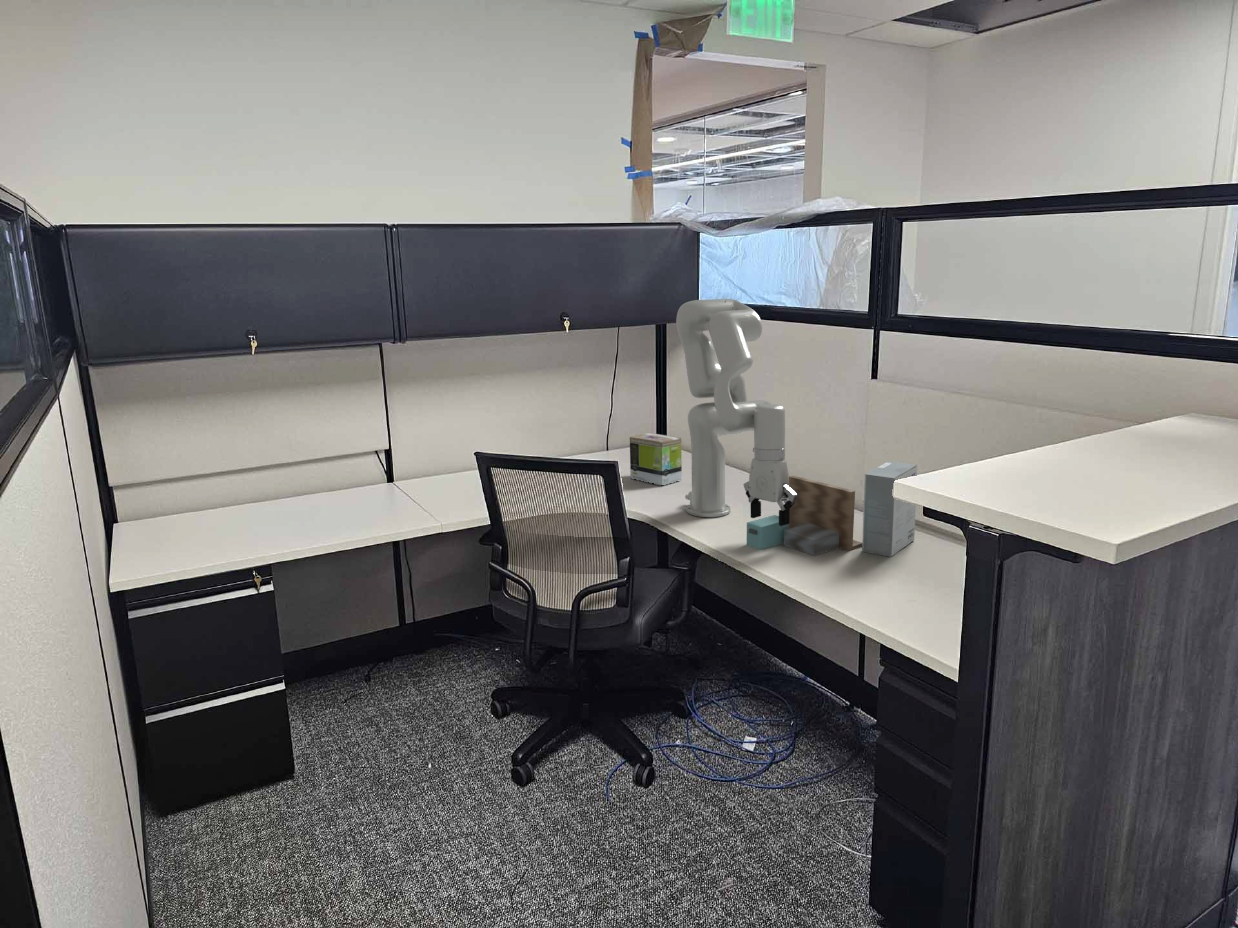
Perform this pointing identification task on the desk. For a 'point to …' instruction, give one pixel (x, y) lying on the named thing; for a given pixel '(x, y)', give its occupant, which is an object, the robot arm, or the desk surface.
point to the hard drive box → (887, 511)
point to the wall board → (820, 517)
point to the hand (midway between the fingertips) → (769, 520)
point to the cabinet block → (765, 532)
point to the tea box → (655, 458)
